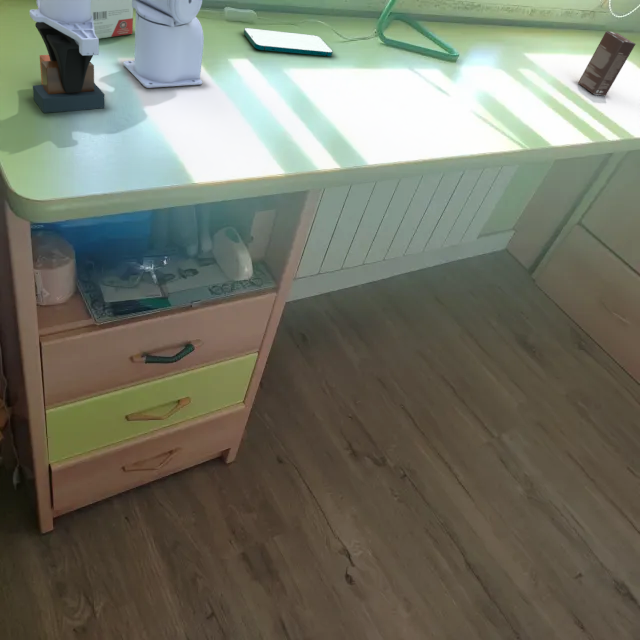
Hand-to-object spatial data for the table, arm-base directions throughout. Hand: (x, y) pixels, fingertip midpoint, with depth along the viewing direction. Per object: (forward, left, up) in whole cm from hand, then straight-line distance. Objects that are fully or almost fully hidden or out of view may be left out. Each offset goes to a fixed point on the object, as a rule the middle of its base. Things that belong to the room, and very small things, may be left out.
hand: (69, 86), depth 79 cm
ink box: (-14, -23, -3) cm, 27 cm away
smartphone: (-47, -16, -2) cm, 50 cm away
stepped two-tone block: (0, 0, -2) cm, 2 cm away
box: (-116, +11, -3) cm, 117 cm away
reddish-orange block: (0, -4, -2) cm, 5 cm away
